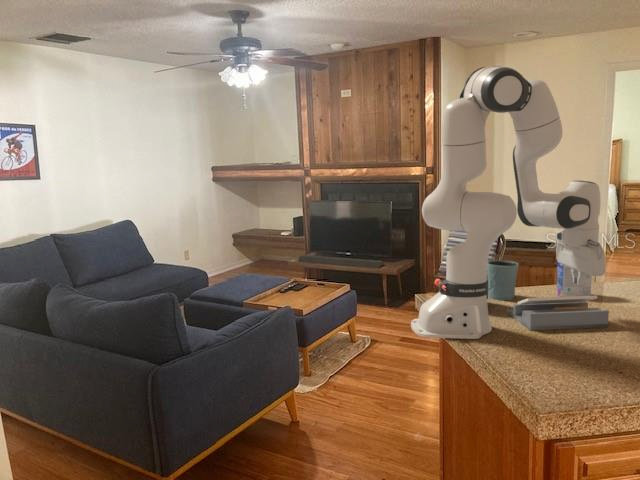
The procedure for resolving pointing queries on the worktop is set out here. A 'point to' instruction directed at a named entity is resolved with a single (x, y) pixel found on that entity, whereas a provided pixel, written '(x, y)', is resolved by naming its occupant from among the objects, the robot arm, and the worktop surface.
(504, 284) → the teal cup
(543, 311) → the grooved grey base
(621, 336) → the worktop surface
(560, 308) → the orange capsule pill
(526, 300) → the cover
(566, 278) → the ink cartridge box
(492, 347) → the worktop surface
